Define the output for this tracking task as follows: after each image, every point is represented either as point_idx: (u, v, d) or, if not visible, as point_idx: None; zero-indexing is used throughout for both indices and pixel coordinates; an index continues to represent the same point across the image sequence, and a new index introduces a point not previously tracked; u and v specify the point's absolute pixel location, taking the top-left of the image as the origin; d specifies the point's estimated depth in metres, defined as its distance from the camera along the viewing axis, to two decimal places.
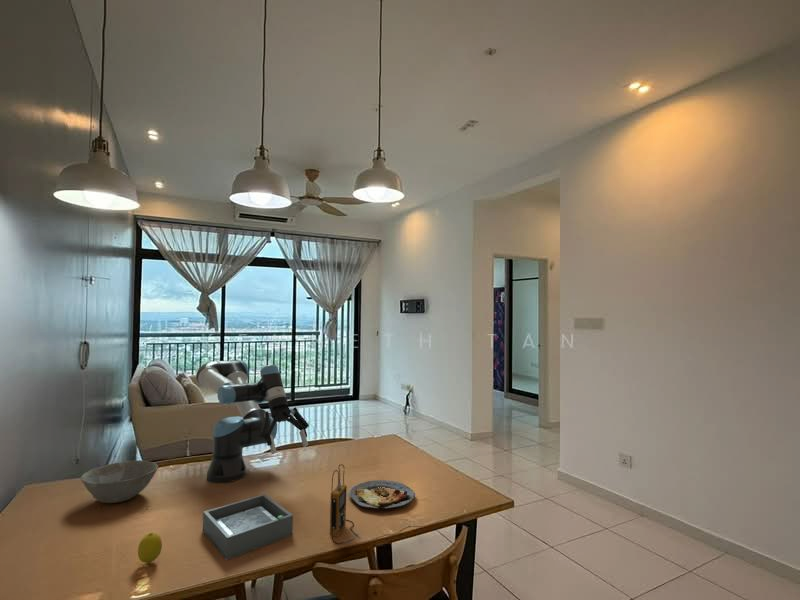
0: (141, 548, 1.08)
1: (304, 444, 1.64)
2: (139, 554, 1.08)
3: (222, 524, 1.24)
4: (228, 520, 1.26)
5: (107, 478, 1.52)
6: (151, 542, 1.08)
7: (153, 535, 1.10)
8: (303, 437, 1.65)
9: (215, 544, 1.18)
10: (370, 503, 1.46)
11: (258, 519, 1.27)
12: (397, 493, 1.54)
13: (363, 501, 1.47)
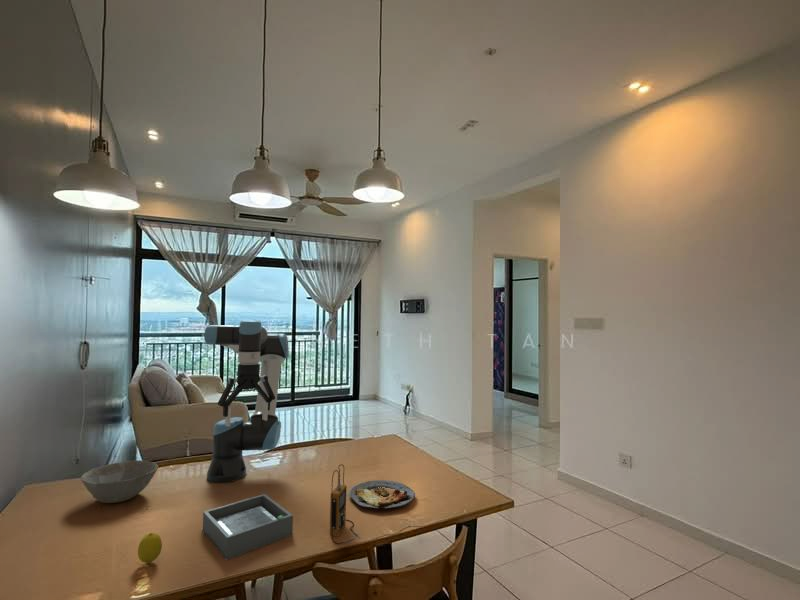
0: (141, 548, 1.08)
1: (263, 417, 1.51)
2: (139, 554, 1.08)
3: (222, 524, 1.24)
4: (228, 520, 1.26)
5: (106, 478, 1.52)
6: (151, 542, 1.08)
7: (153, 535, 1.10)
8: (264, 411, 1.51)
9: (215, 544, 1.18)
10: (370, 503, 1.46)
11: (258, 519, 1.27)
12: (397, 493, 1.54)
13: (363, 501, 1.47)
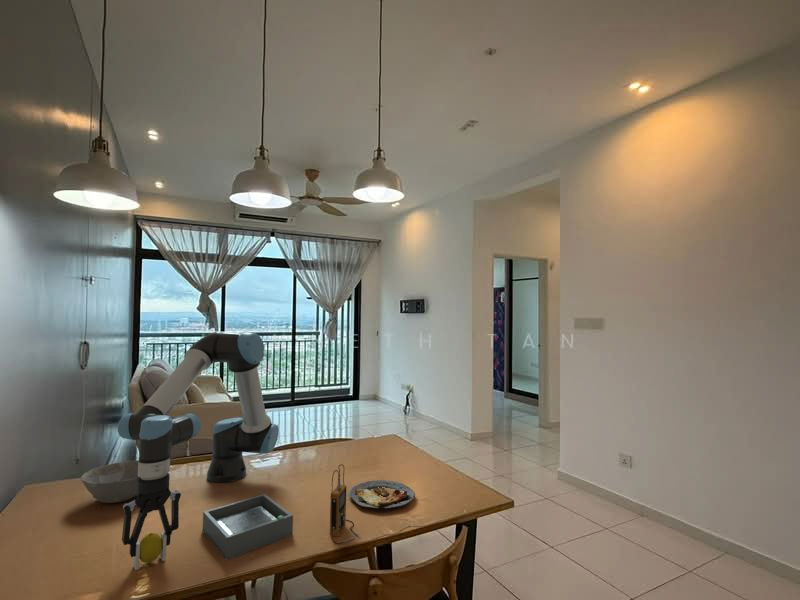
0: (141, 548, 1.08)
1: (161, 556, 1.12)
2: None
3: (222, 524, 1.24)
4: (228, 520, 1.26)
5: (106, 478, 1.52)
6: (151, 543, 1.08)
7: (153, 535, 1.10)
8: (162, 547, 1.11)
9: (215, 544, 1.18)
10: (370, 503, 1.46)
11: (258, 519, 1.27)
12: (397, 493, 1.54)
13: (363, 501, 1.47)
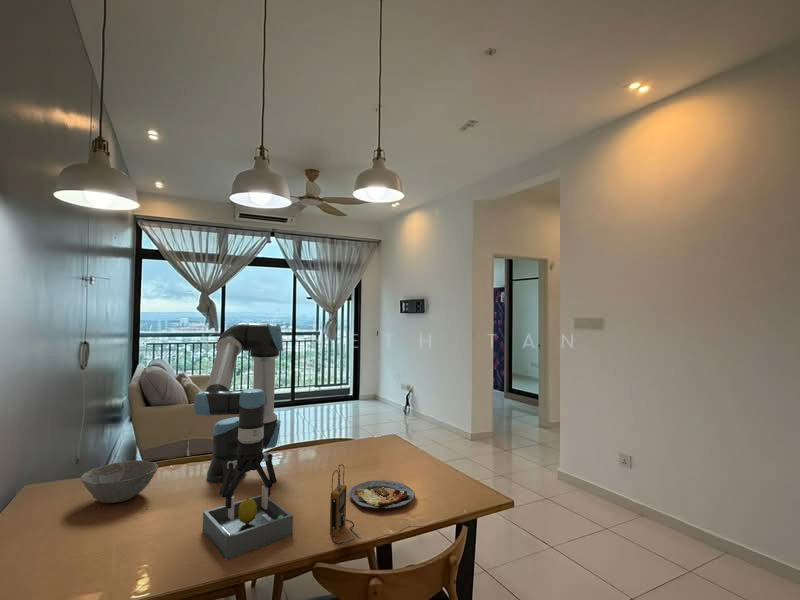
0: (241, 510, 1.24)
1: (263, 505, 1.30)
2: (240, 515, 1.24)
3: None
4: (227, 524, 1.26)
5: (107, 478, 1.52)
6: (249, 506, 1.25)
7: (250, 500, 1.27)
8: (264, 497, 1.30)
9: (215, 544, 1.18)
10: (370, 503, 1.46)
11: (258, 523, 1.27)
12: (397, 493, 1.54)
13: (363, 501, 1.47)
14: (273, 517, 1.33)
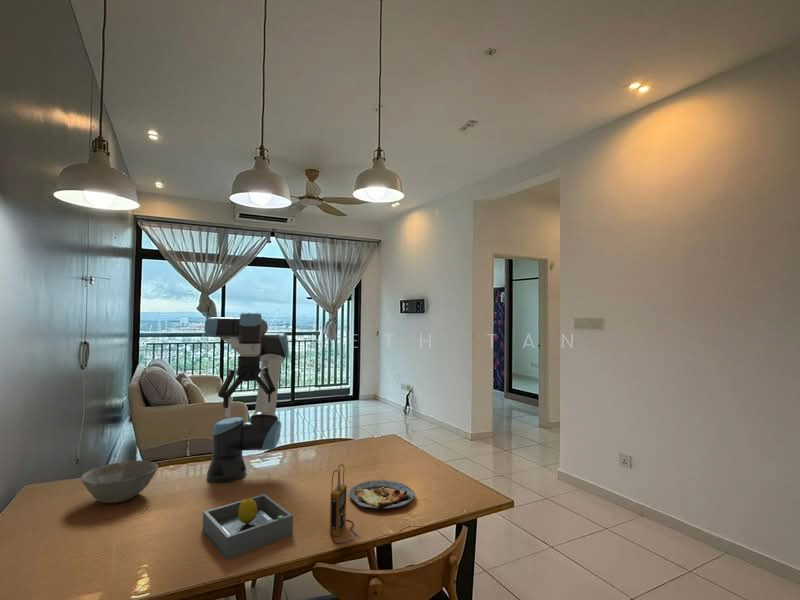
0: (241, 510, 1.24)
1: (264, 409, 1.51)
2: (240, 515, 1.24)
3: None
4: (227, 524, 1.26)
5: (107, 478, 1.52)
6: (249, 506, 1.25)
7: (250, 500, 1.27)
8: (265, 402, 1.51)
9: (215, 544, 1.18)
10: (370, 503, 1.46)
11: (258, 523, 1.27)
12: (397, 493, 1.54)
13: (363, 501, 1.47)
14: (273, 517, 1.33)
